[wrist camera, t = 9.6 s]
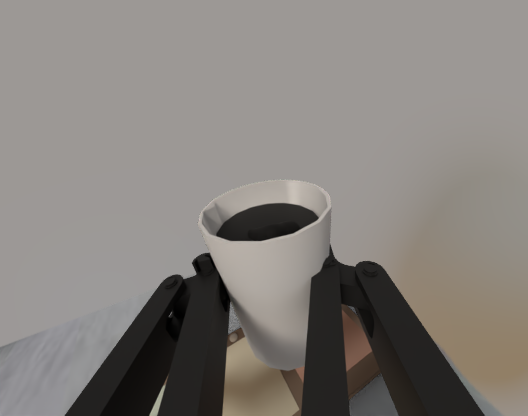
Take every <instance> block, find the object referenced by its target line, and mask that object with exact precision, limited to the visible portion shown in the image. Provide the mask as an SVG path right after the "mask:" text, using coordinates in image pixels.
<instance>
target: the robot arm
mask: <svg viewBox="0 0 528 416" xmlns="http://www.w3.org/2000/svg"><path fill="white" fill-rule="evenodd" d="M192 264H193V266H194V269H195V271H196V273H197V274H196V275H195V276H193V277H190V278H187V279H183V277H182V276H181V275H172V276H170V277H168V278H166V279H165V280H164V281H163V282H162V283H161V284H160V286H159V287H158V288H157V290H156V291H155V292H154V294H153V295H152V296H151V298H150V299H149V300H148V302H147V303H146V305H145V306H144V307H143V309H142V310H141V311H140V313H139V314H138V316H137V317H136V318H135V320H134V321H133V322H132V324H131V325H130V327H129V328H128V329H127V331H126V332H125V333H124V335H123V336H122V338H121V339H120V340H119V342H118V343H117V344H116V346H115V347H114V349H113V350H112V351H111V353H110V354H109V355H108V357H107V358H106V360H105V361H104V362H103V364H102V365H101V366H100V368H99V369H98V371H97V372H96V373H95V375H94V376H93V377H92V379H91V380H90V382H89V383H88V384H87V386H86V387H85V388H84V390H83V391H82V393H81V394H80V395H79V397H78V398H77V399H76V401H75V402H74V403H73V405H72V406H71V408H70V409H69V410H68V412H67V413H66V414H65V416H149V415H150V413H151V411H152V409H153V407H154V404H155V402H156V400H157V398H158V396H159V394H160V392H161V389H162V387H163V385H164V383H165V381H166V379H167V382H166V385H165V389H164V393H163V396H162V400H161V403H160V407H159V411H158V414H157V416H222V414H223V399H224V384H225V370H226V355H227V341H228V326H229V311H230V298H229V296H228V293H227V291H226V288H225V286H224V284H223V281H222V279H221V276H220V274H219V272H218V270H217V268H216V265H215V264H214V261H213V259H212V257H211V254H210V253H204V254H201V255H199V256H198V257H196V258H195V259H194V260H193V262H192ZM341 304H344V305H348V306H352V307H354V308H355V311H356V313H357V315H358V318H359V320H360V323H361V325H362V327H363V330H364V332H365V335H366V337H367V340H368V342H369V344H370V347H371V349H372V352H373V354H374V356H375V359H376V361H377V364H378V366H379V369H380V371H381V373H382V376H383V378H384V381H385V383H386V385H387V388H388V390H389V393H390V395H391V397H392V400H393V402H394V405H395V407H396V410H397V412H398V414H399V416H485V415H484V414H483V412H482V411H481V410H480V408H479V407H478V405H477V404H476V402H475V401H474V399H473V398H472V396H471V395H470V394H469V392H468V391H467V389H466V388H465V386H464V385H463V383H462V382H461V380H460V379H459V377H458V376H457V375H456V373H455V372H454V370H453V369H452V367H451V366H450V364H449V363H448V361H447V360H446V359H445V357H444V356H443V354H442V353H441V351H440V350H439V348H438V347H437V345H436V344H435V343H434V341H433V340H432V338H431V337H430V335H429V334H428V332H427V331H426V330H425V328H424V326H422V324H421V322H420V321H419V319H418V318H417V316H416V315H415V313H414V312H413V311H412V309H411V308H410V306H409V305H408V303H407V302H406V300H405V299H404V297H403V296H402V294H401V293H400V292H399V290H398V289H397V287H396V286H395V284H394V283H393V281H392V280H391V278H390V277H389V276H388V274H387V273H386V271H385V270H384V269H383V268H382V266H381V265H378V264H377V263H375V262H371V261H363V262H359V263H358V264H357V265H356V267H354V266H348V265H344V264H342V263H340V262H338V261H337V260H336V259H335V257H334V255H333V252H332V249H331V245H330V249H329V256H328V258H326V259H325V261H324V263H323V266H322V268H321V270H320V272H318V273H317V274H316V275H314V276H313V277H311V288H310V301H309V315H308V328H307V341H306V355H305V368H304V381H303V394H302V408H301V416H350V412H349V399H348V385H347V372H346V359H345V345H344V332H343V318H342V305H341ZM171 312H172V314H171ZM170 314H171V315H170ZM169 315H170V316H169ZM168 374H169V375H168ZM167 376H168V378H167Z"/></svg>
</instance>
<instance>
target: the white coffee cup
mask: <svg viewBox="0 0 528 416" xmlns="http://www.w3.org/2000/svg"><path fill="white" fill-rule="evenodd" d="M198 226H199V228H200V231H201V233H202V235H203V238H204V240H205V242H206V245H207V247H208V250H209V252H210V254H211V257H212V259H213V261H214V264H215V265H216V268H217V270H218V272H219V274H220V276H221V279H222V281H223V284H224V286H225V288H226V291H227V293H228V296H229V298H230V302H231V304H232V306H233V309H234V311H235V313H236V316H237V318H238V320H239V323H240V325H241V328H242V330H243V332H244V335H245V337H246V339H247V342H248V344H249V346H250V348H251V349H252V351H253V353H254V355H255V357H256V358H258V359H259V360H260V361H262V362H263V363H264V364H266V365H267V366H269V367H270V368H275V369H281V370H286V371H289V370H293V369H296V368H300V367H303V366H305V355H306V341H307V328H308V315H309V301H310V288H311V277H313V276H314V275H316V274H317V273H318V272H320V270H321V268H322V266H323V263H324V261H325V259H326V258H328V256H329V249H330V226H331V201H330V195H329V194H328V193H327V192H326V191H325V190H323V189H322V188H321V187H320V186H318V185H314V184H311V183H308V182H304V181H297V180H271V181H262V182H257V183H253V184H248V185H245V186H241V187H239V188H236V189H233V190H230V191H228V192H226V193H224V194H222V195H220V196H219V197H217V198H215V199H214V200H212V201H211V202H210V203H209V204H208V205H207V206H206V207H205V208H204V209H203V210H202V211H201V212H200V217H199V221H198Z"/></svg>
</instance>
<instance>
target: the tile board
mask: <svg viewBox="0 0 528 416" xmlns="http://www.w3.org/2000/svg"><path fill="white" fill-rule="evenodd" d="M341 305H342V318H343V332H344V345H345V359H346V372H347V385H348V399H349V400H350V399H351V398H352V397H353V396H354V395H355V394H357V393H358V392H359V391H360V390H361V389H362V388H363V387H365V386H366V385H367V384H368V383H369V382H370V381H372V380H373V379H374V378H375V377H376V376H377V375H378V374H380V373H381V371H380V369H379V366H378V364H377V361H376V359H375V356H374V354H373V352H372V349H371V347H370V344H369V342H368V340H367V337H366V335H365V332H364V330H363V327H362V325H361V323H360V320H359V318H358V316H357V315H356V314H355V313H354V312H353V311H352V310H351V309H350V308H349V307H348V306H347V305H344V304H341ZM304 368H305V366H303V367H300V368H296V369H293V370H289V371H286V370H281V369H275V368H270V367H269V366H267V365H266V364H264V363H263V362H262V361H260V360H259V359H258V358H256V357H255V355H254V353H253V351H252V349H251V348H250V346H249V344H248V342H247V339H246V337H245V335H244V332H243V330H242V328H239V329H238V330H236V331H234V332H232V333H231V334H229V335H228V341H227V355H226V370H225V384H224V399H223V414H222V416H301V408H302V394H303V381H304ZM168 375H169V374H168ZM167 378H168V376H167ZM166 382H167V379H166V381H165V383H164V385H163V387H162V389H161V392H160V394H159V396H158V398H157V400H156V402H155V404H154V407H153V409H152V411H151V413H150V415H149V416H157V414H158V411H159V407H160V403H161V400H162V396H163V393H164V389H165V385H166Z"/></svg>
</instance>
